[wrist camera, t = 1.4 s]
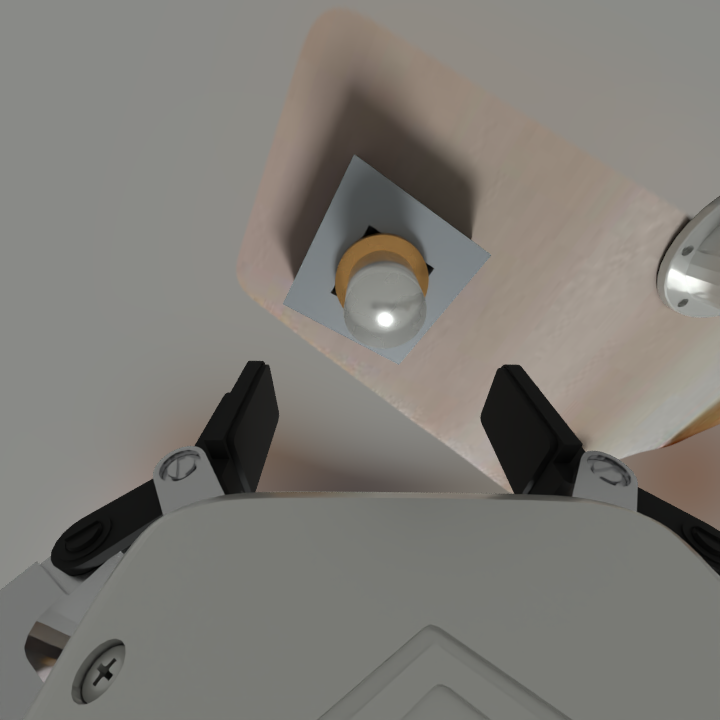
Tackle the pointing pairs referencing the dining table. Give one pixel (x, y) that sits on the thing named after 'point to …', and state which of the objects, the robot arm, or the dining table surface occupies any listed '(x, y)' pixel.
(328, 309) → the housing
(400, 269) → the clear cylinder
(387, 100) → the dining table surface
